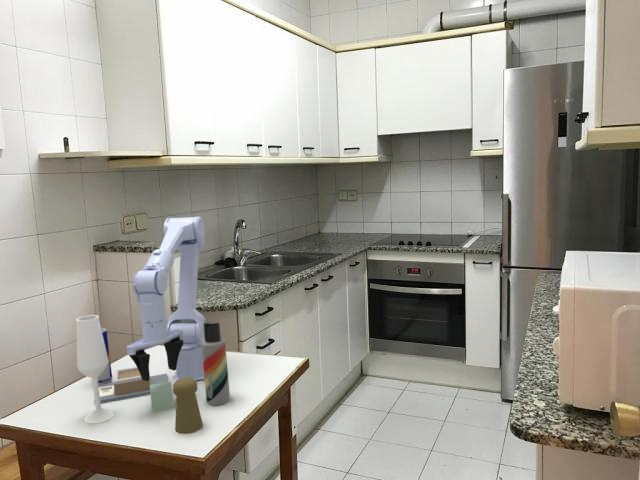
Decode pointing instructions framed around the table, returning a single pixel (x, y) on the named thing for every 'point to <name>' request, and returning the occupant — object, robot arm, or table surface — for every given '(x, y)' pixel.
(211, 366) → the lotion bottle
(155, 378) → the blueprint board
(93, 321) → the champagne flute
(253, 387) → the table surface
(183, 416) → the cork
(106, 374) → the beverage can
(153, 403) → the sage block
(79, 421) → the table surface
